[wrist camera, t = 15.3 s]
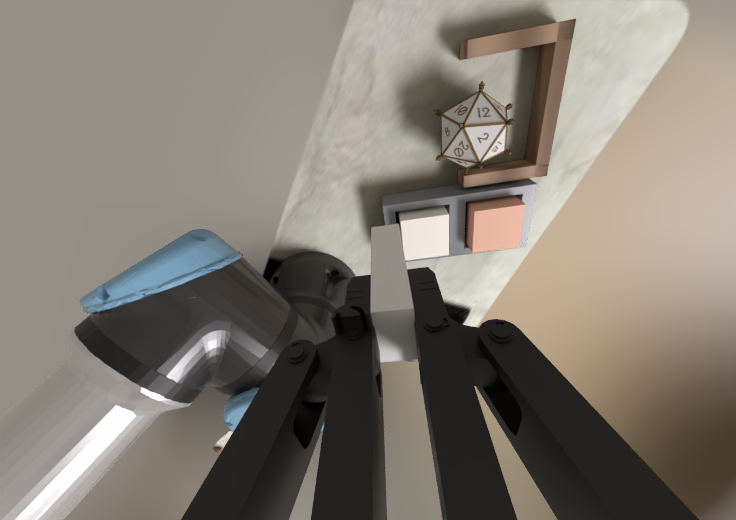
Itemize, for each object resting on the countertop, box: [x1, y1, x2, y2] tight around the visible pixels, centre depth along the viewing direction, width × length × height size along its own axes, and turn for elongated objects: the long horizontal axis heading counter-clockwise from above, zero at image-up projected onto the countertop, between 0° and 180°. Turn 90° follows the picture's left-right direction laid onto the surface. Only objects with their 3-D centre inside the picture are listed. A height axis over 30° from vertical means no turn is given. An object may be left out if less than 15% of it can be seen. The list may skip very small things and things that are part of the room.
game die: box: [434, 81, 515, 174], centre depth 31 cm, size 9×8×10 cm
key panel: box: [382, 178, 537, 262], centre depth 39 cm, size 19×9×4 cm, turn 99°
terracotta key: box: [466, 196, 526, 253], centre depth 37 cm, size 6×6×3 cm
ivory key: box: [399, 205, 449, 261], centre depth 38 cm, size 6×6×3 cm
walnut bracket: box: [458, 19, 576, 188], centre depth 32 cm, size 10×15×3 cm, turn 9°
